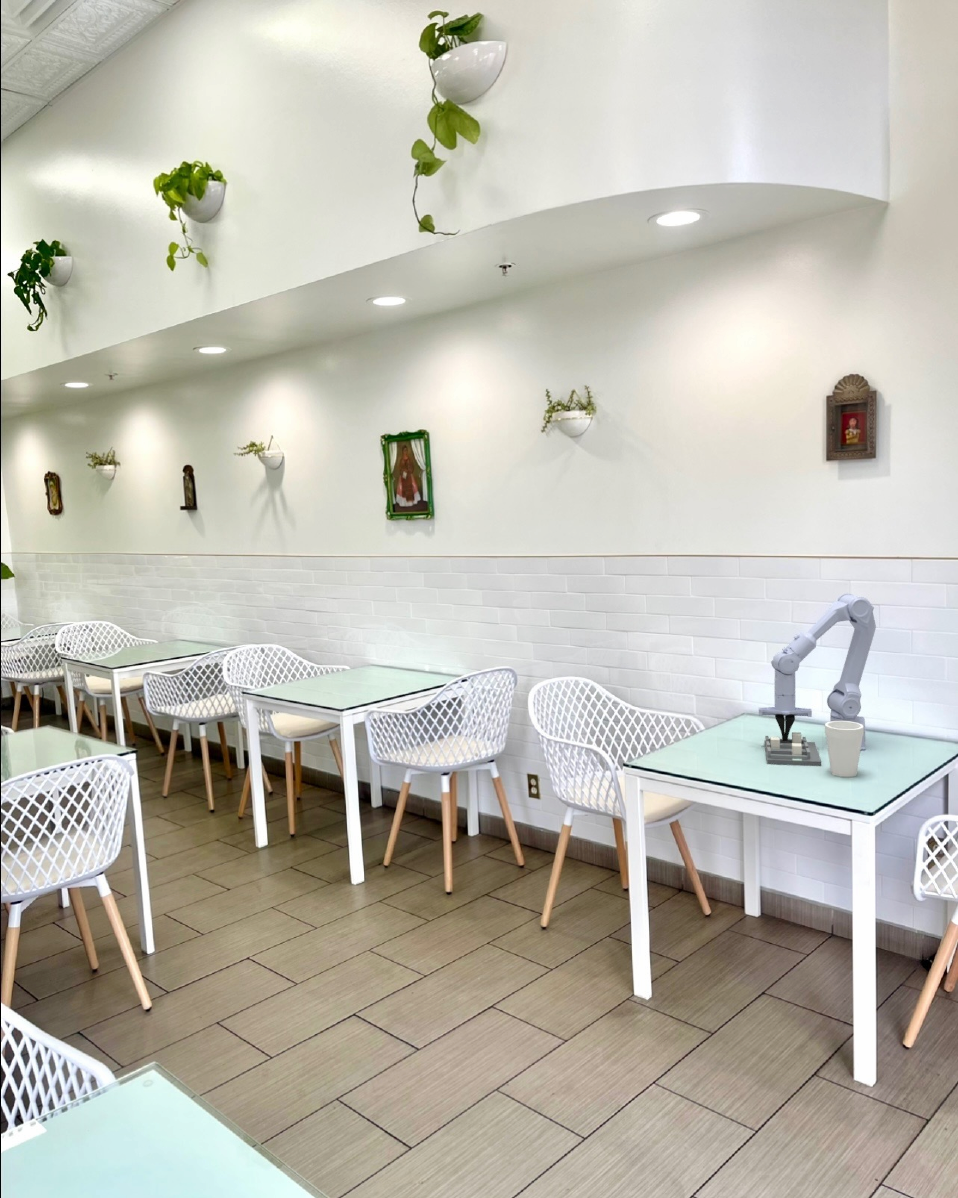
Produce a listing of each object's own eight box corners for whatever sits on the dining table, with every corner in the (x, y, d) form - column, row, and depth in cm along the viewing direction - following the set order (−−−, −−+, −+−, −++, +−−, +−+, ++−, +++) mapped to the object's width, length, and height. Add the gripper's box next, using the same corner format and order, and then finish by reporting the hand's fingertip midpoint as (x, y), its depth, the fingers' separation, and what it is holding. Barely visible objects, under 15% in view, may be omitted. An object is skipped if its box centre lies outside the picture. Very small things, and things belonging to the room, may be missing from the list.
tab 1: (779, 748, 270) (779, 737, 269) (779, 751, 267) (779, 740, 266) (770, 747, 270) (770, 737, 270) (770, 750, 267) (770, 739, 267)
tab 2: (800, 743, 274) (800, 732, 273) (801, 746, 271) (801, 735, 271) (791, 743, 274) (791, 732, 274) (792, 745, 271) (792, 734, 271)
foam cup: (865, 779, 243) (865, 730, 242) (827, 778, 246) (827, 729, 244) (859, 768, 253) (860, 721, 251) (823, 767, 255) (823, 720, 253)
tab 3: (800, 754, 262) (800, 743, 262) (801, 757, 260) (801, 746, 259) (791, 754, 263) (791, 743, 263) (792, 757, 260) (792, 746, 260)
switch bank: (814, 746, 275) (814, 735, 275) (821, 766, 256) (821, 754, 256) (764, 744, 279) (764, 734, 278) (767, 764, 260) (767, 752, 259)
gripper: (759, 696, 270) (759, 742, 271) (812, 697, 266) (812, 744, 268) (758, 691, 276) (758, 736, 278) (810, 692, 273) (810, 738, 274)
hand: (784, 740), depth 273 cm, fingers closed
